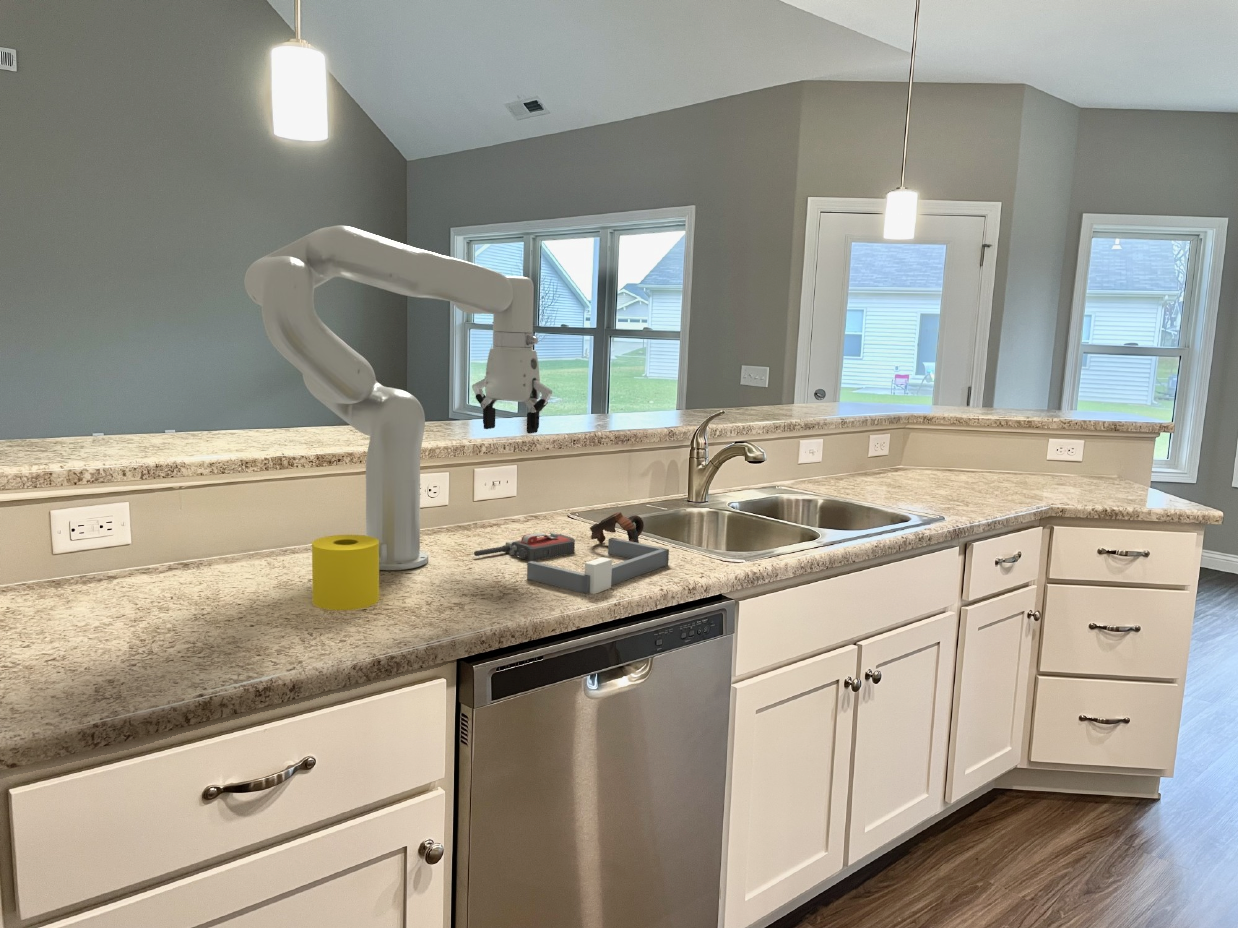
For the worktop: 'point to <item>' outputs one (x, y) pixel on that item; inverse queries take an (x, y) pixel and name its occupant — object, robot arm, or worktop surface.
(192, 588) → the worktop surface
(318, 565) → the yellow toilet paper roll
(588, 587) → the cradle
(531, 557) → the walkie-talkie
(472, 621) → the worktop surface
